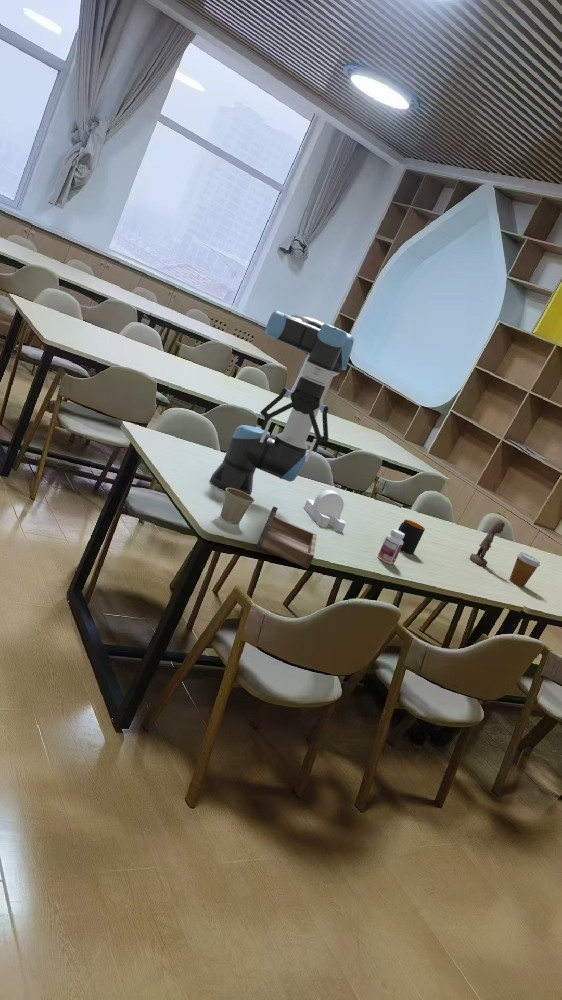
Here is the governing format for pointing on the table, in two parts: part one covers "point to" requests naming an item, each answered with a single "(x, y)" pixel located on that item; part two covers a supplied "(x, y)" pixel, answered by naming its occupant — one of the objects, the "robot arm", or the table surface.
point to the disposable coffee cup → (523, 569)
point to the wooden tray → (287, 541)
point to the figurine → (487, 544)
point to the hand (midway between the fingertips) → (283, 451)
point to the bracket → (327, 510)
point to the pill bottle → (391, 547)
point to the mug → (410, 535)
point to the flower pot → (235, 505)
